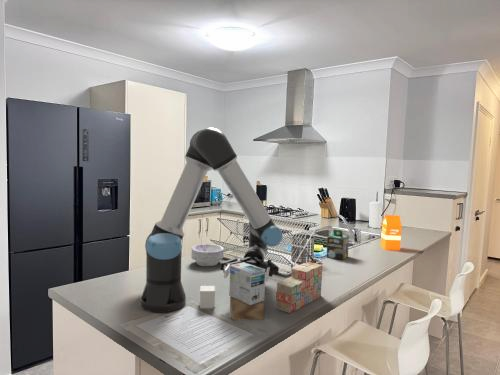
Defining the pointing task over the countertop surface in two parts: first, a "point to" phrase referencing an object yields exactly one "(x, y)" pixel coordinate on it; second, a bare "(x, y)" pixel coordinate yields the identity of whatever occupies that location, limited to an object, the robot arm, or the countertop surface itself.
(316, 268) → the stack of blocks
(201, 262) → the paper bowls
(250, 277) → the light bulb box
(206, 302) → the off-white block
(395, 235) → the orange juice
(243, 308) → the walnut block
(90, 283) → the countertop surface
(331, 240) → the chalk box
